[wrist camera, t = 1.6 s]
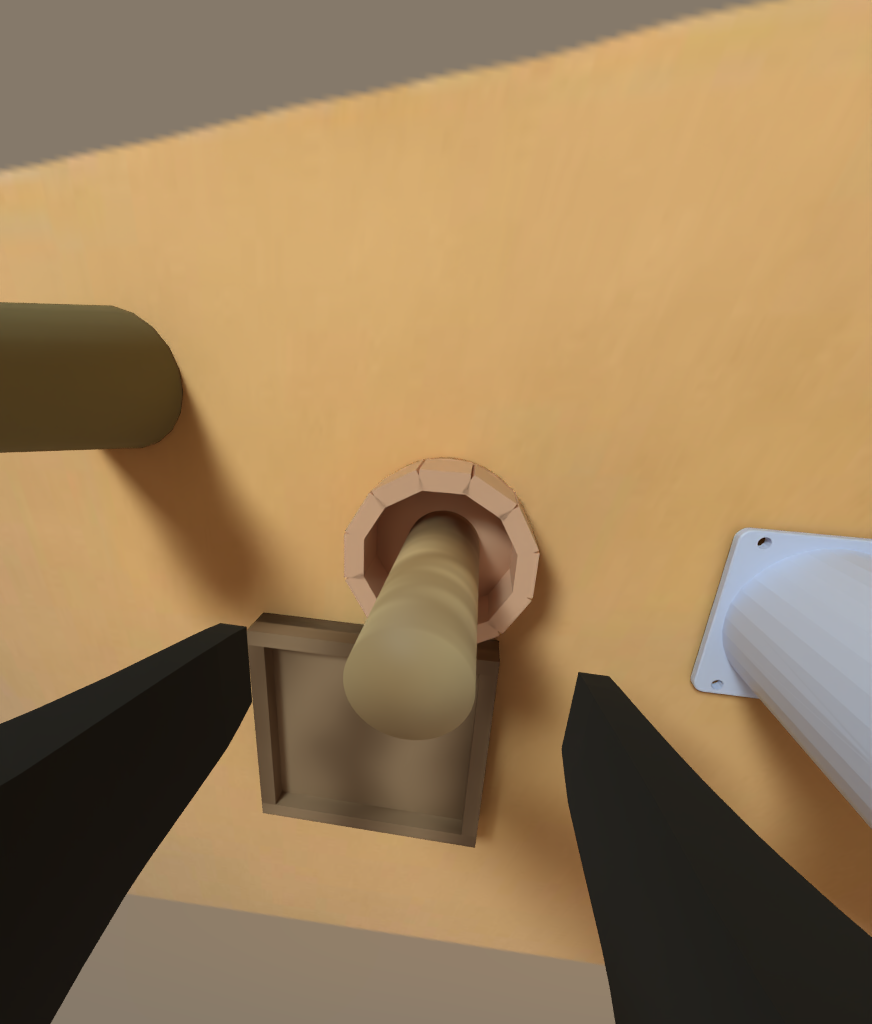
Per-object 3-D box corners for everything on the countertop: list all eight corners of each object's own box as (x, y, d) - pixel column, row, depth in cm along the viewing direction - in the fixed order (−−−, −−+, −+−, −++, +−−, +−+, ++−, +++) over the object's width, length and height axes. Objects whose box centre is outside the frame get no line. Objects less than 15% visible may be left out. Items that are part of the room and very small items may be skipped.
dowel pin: (483, 514, 18) (482, 638, 9) (476, 581, 19) (469, 748, 10) (409, 507, 18) (342, 621, 10) (406, 573, 19) (342, 730, 11)
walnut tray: (498, 641, 20) (499, 662, 19) (475, 818, 24) (474, 847, 23) (263, 612, 21) (246, 630, 20) (276, 786, 25) (263, 812, 24)
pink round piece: (540, 465, 18) (550, 480, 15) (518, 621, 20) (523, 659, 17) (364, 450, 18) (343, 462, 16) (362, 603, 21) (344, 637, 18)
